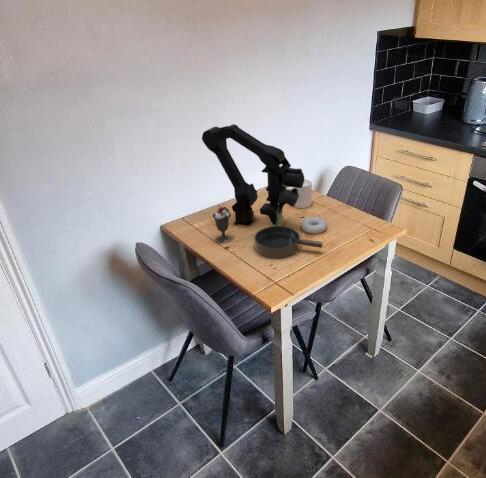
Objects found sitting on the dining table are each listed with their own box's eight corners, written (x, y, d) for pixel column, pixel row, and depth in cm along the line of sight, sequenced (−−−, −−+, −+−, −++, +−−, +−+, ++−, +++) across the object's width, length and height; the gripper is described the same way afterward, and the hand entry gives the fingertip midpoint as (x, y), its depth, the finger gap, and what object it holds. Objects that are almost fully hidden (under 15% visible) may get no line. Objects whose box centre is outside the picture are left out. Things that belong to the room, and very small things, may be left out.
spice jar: (269, 225, 165) (268, 210, 162) (273, 220, 169) (272, 205, 165) (280, 227, 164) (280, 212, 160) (284, 222, 167) (283, 206, 164)
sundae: (218, 245, 156) (214, 208, 149) (212, 237, 161) (208, 201, 154) (235, 241, 159) (232, 204, 151) (228, 233, 164) (225, 197, 156)
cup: (314, 206, 183) (315, 184, 178) (289, 211, 179) (288, 189, 174) (306, 198, 190) (306, 177, 185) (281, 204, 186) (280, 182, 181)
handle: (297, 245, 150) (297, 240, 149) (299, 242, 151) (299, 237, 150) (321, 249, 147) (321, 244, 146) (322, 246, 149) (322, 241, 148)
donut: (298, 234, 162) (325, 236, 160) (298, 226, 160) (325, 228, 159) (303, 222, 171) (328, 224, 169) (303, 214, 169) (328, 216, 167)
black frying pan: (248, 255, 150) (247, 244, 147) (264, 234, 163) (263, 223, 161) (292, 263, 145) (292, 251, 143) (305, 240, 158) (305, 229, 156)
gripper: (288, 196, 148) (289, 236, 156) (303, 177, 163) (303, 213, 171) (258, 193, 151) (260, 231, 159) (275, 174, 166) (276, 210, 174)
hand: (276, 221), depth 166 cm, fingers closed on spice jar, 4 cm apart
